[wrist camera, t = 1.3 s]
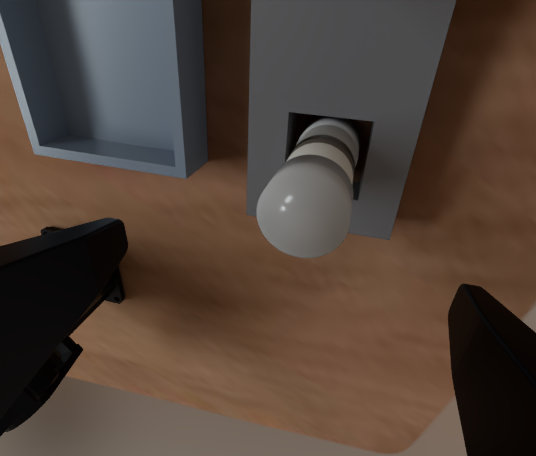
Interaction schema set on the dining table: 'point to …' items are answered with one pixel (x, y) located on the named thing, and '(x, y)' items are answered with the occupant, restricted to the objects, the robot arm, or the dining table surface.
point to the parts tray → (110, 81)
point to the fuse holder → (344, 88)
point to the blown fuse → (312, 191)
